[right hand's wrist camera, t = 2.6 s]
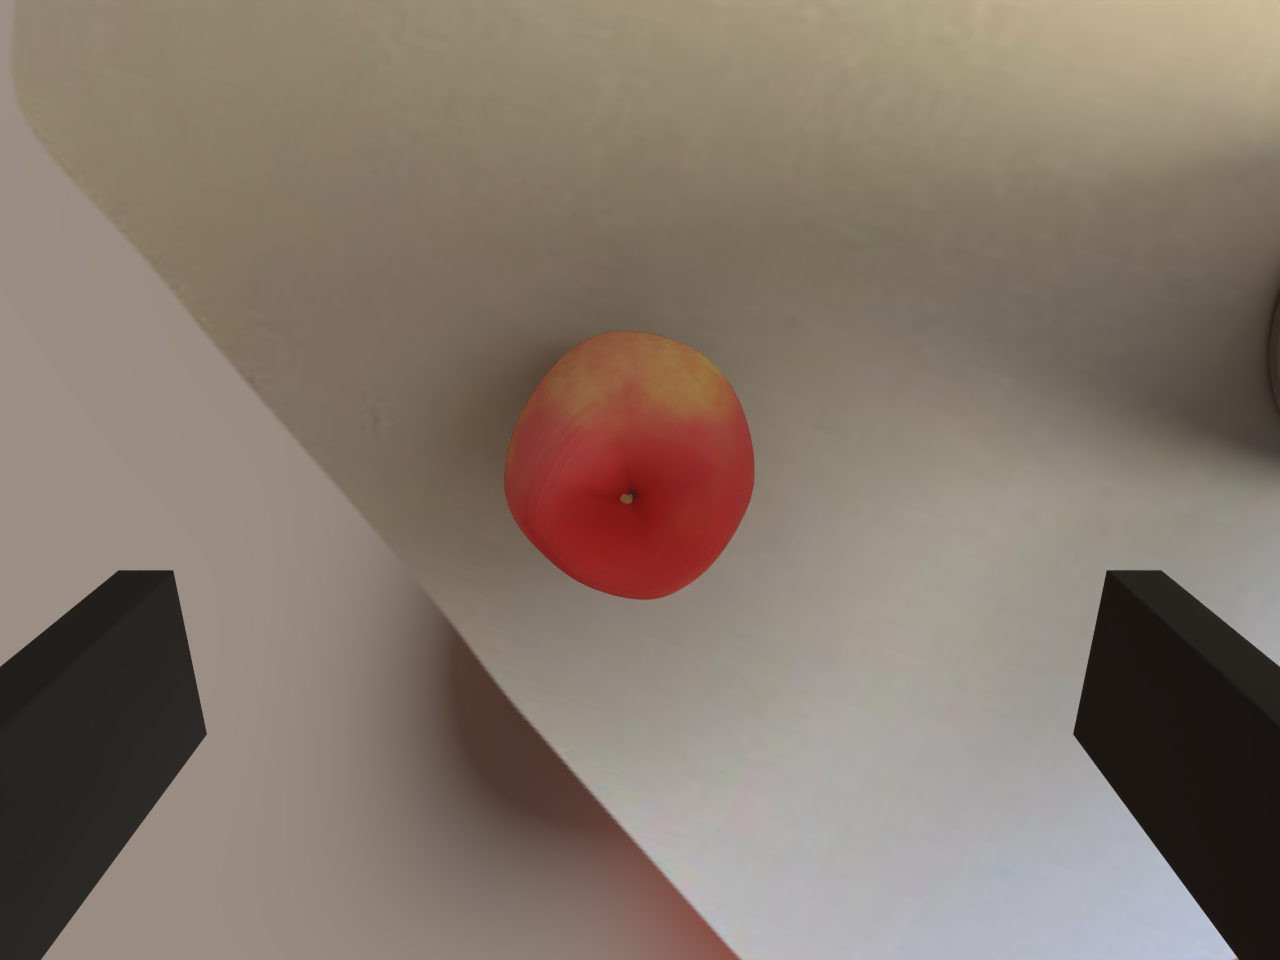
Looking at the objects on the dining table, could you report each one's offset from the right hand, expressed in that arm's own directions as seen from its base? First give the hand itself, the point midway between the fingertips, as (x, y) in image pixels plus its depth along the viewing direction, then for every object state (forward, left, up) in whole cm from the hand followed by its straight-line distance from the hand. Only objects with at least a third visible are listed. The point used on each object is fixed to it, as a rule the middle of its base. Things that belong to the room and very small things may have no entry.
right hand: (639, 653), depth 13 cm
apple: (+3, +3, -27) cm, 27 cm away
